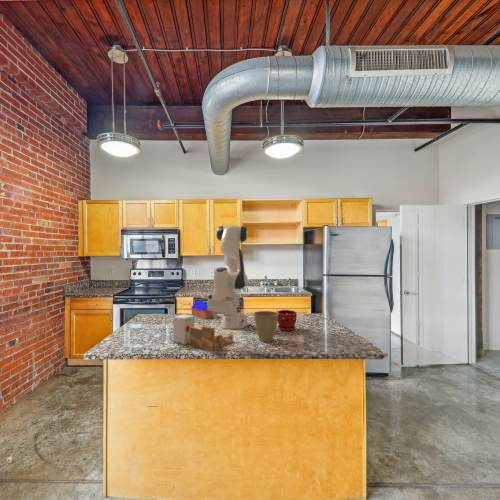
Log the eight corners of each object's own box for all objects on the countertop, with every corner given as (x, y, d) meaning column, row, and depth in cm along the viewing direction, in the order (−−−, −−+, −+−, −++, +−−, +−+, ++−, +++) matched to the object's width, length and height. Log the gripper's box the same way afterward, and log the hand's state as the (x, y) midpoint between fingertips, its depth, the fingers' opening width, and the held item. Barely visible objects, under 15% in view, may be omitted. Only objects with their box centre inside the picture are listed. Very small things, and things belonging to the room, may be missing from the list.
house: (205, 319, 230) (205, 304, 230) (191, 315, 245) (191, 301, 245) (217, 316, 239) (217, 302, 239) (203, 313, 253) (202, 299, 253)
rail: (228, 340, 175) (228, 332, 175) (233, 341, 173) (233, 333, 173) (208, 348, 161) (208, 339, 161) (212, 349, 159) (212, 340, 159)
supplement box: (184, 344, 167) (184, 318, 167) (172, 342, 172) (172, 316, 172) (194, 340, 175) (194, 315, 175) (183, 338, 180) (183, 313, 180)
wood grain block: (200, 341, 173) (200, 321, 173) (222, 347, 162) (222, 325, 162) (189, 345, 166) (189, 324, 166) (211, 351, 155) (211, 328, 156)
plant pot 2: (274, 330, 196) (274, 312, 196) (281, 326, 207) (281, 309, 207) (292, 332, 190) (292, 314, 190) (299, 328, 201) (299, 310, 201)
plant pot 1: (271, 345, 165) (271, 317, 165) (249, 341, 173) (249, 314, 173) (282, 338, 178) (282, 312, 178) (261, 335, 185) (261, 309, 185)
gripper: (239, 297, 164) (239, 321, 164) (212, 293, 176) (213, 316, 176) (231, 298, 159) (232, 324, 159) (205, 295, 171) (205, 318, 171)
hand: (222, 320), depth 168 cm, fingers open, 8 cm apart
